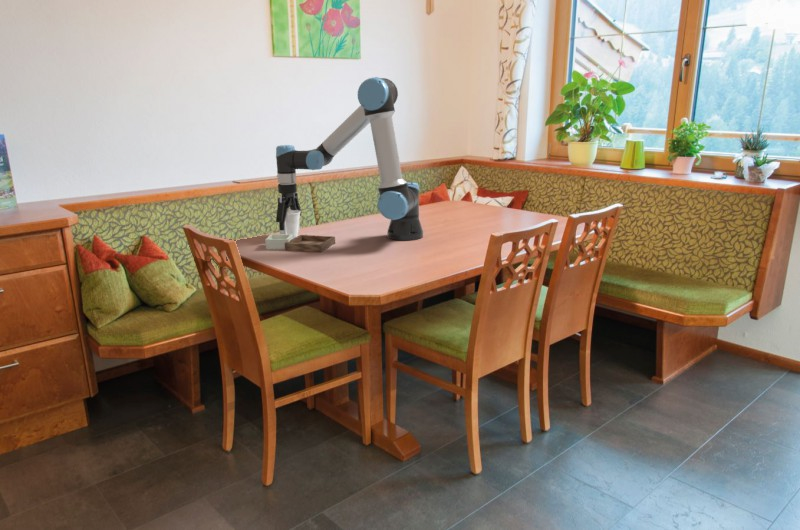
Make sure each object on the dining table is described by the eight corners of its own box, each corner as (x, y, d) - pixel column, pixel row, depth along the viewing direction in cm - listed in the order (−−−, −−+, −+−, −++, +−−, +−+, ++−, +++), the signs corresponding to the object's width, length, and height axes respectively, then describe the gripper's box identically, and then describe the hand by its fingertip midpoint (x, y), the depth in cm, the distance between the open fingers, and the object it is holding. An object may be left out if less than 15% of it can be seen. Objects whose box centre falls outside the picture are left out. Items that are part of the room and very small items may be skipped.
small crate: (293, 243, 245) (292, 234, 244) (289, 249, 236) (288, 239, 235) (270, 244, 245) (270, 234, 244) (266, 249, 236) (265, 239, 235)
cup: (297, 240, 251) (295, 214, 248) (274, 239, 253) (272, 213, 250) (305, 235, 260) (304, 210, 257) (283, 234, 262) (282, 209, 259)
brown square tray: (335, 243, 245) (334, 236, 245) (321, 252, 232) (320, 245, 231) (301, 241, 249) (300, 234, 249) (285, 250, 235) (284, 243, 235)
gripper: (291, 179, 262) (294, 227, 268) (265, 187, 240) (268, 240, 246) (307, 179, 260) (309, 228, 266) (282, 187, 238) (285, 241, 244)
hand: (290, 234), depth 256 cm, fingers open, 12 cm apart
